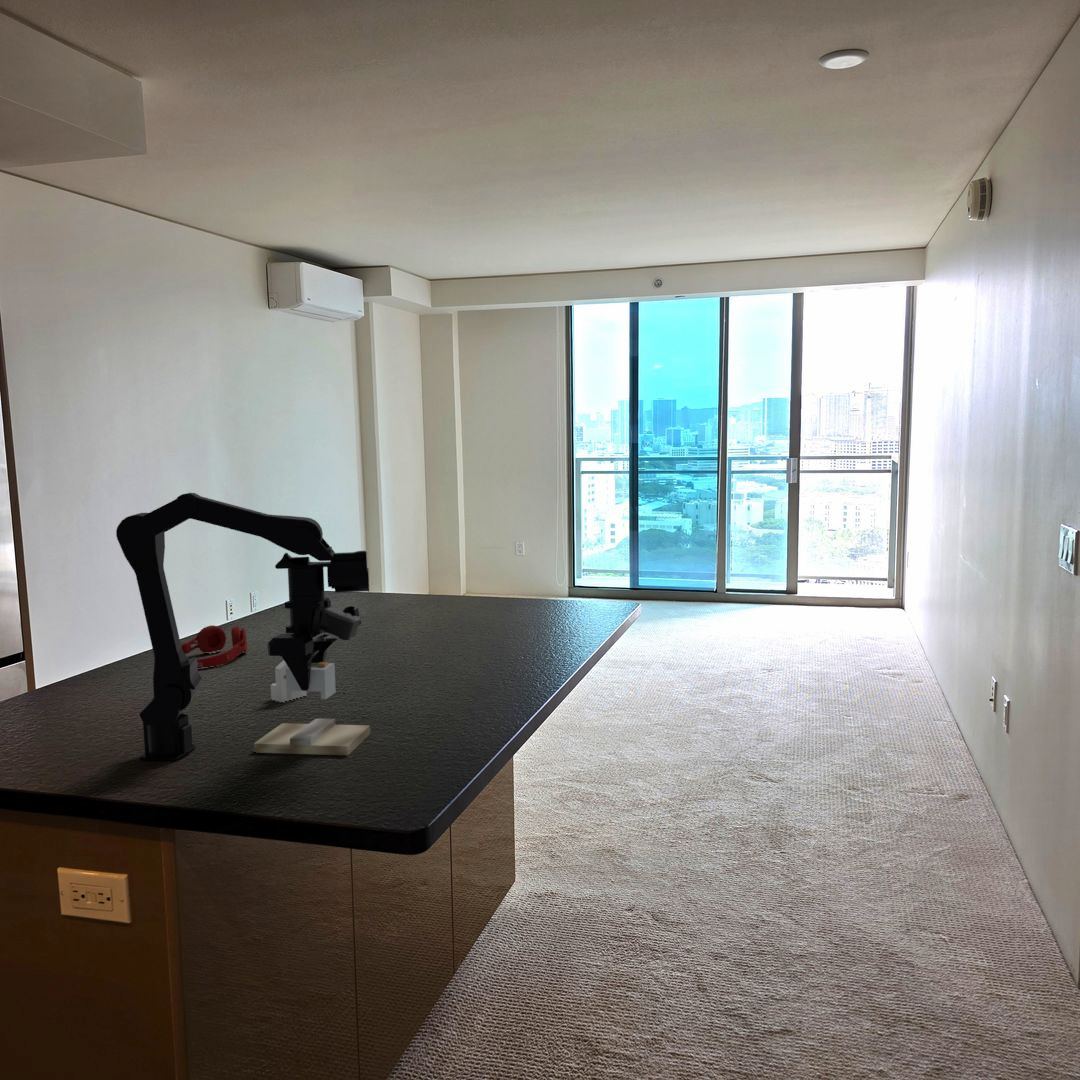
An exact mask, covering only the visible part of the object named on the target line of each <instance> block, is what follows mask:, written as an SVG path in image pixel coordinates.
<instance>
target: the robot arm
mask: <svg viewBox="0 0 1080 1080" xmlns="http://www.w3.org/2000/svg"><path fill="white" fill-rule="evenodd" d="M189 519H190V520H195V521H198V522H203V523H206V524H210V525H214V526H218V527H222V528H224V529H230V530H233V531H238V532H241V533H244V534H248V535H252V536H256V537H260V538H262V539H264V540H267V541H268V542H270V543H272V544H274V545H276V546H278V547H280V548H282V549H284V550H287V551H288V552H291V553H293V554H296V555H298V556H295V557H293V556H291V555H289V553H288V552H284V553H283V555H282V557H281V559H280V560H279V561H278V562H277V563H276V564H275V566H274V568H275V569H277V570H281V569H287V580H288V581H287V582H288V600H287V601H285V602H284V609H287V610H289V625H288V626H285V633H281V634H278V635H276V636H273V637H272V638H271V640H270V641H268V642H267V651H268V652H267V654H268V656H269V657H270V656H271V657H281V659H283V660H284V661H285V663H286V664H287V666H288V667H289V669H290V671H291V672H292V674H293V676H294V678H295V679H296V681H297V683H298V685H299V686H300V688H301V690H304V691H306V692H308V691H307V690H308V689H309V682H310V671H311V663H320V662H326V657H327V654H328V651H329V649H330V648H331V647H333V646H334V644H335V643H336V642H338V640H343V641H349V640H351V638H355V637H356V634H357V631H358V628H359V626H361V625H362V620H361V619H362V616H360V612H359V607H358V606H355V605H353V604H349V605H347V606H346V607H345V608H344V609H343V610H342V608H338V609H336V608H334V607H332V601H331V600H330V598H329V597H326V596H325V577H324V576H325V575H324V573H325V572H324V568H327V570H326V572H327V587H328V588H331V590H332V589H334V593H335V594H337V593H338V594H339V593H358V592H359V593H362V592H370V579H369V578H370V576H369V575H370V574H369V573H370V572H369V568H368V557H367V556H368V555H367V551H366V550H357V551H353V552H351V551H349V552H335V550H334V549H333V548H332V546H330V545H329V544H328V542H327V541H326V540H325V539H324V537H323V528H322V527H321V525H320V523H319V522H318V521H317V520H315V519H313V518H311V517H306V516H305V517H304V516H295V515H294V516H293V515H281V514H280V515H279V514H278V515H277V514H267V513H264V512H261V511H258V510H257V511H256V510H255V509H254V510H253V509H250V508H246V507H242V506H238V505H235V504H232V503H231V504H230V503H228V502H223V501H219V500H216V499H212V498H208V497H204V496H202V495H199V494H198V493H196V492H187V493H183V494H180V495H179V496H177V497H176V498H175V499H173V500H172V501H170V502H168V503H166V504H164V505H161V506H159V507H158V508H156V509H154V510H151V511H150V512H140V513H136V514H132V515H130V516H129V515H128V516H126V517H124V518H123V519H122V520H121V521H120V522H119V524H118V526H117V527H116V530H115V536H116V539H117V542H118V544H119V546H120V548H121V551H122V553H123V556H124V558H125V559H126V561H127V562H128V564H129V566H130V567H131V569H132V571H133V572H134V574H135V578H136V582H137V586H138V591H139V595H140V599H141V604H142V607H143V613H144V616H145V621H146V625H147V630H148V634H149V639H150V643H151V648H152V652H153V656H154V662H153V663H154V665H153V677H152V686H153V689H152V690H153V698H152V699H151V700H150V701H149V702H148V704H147V705H146V706H145V707H144V708H143V709H142V711H141V712H140V713H139V717H140V719H141V721H142V732H143V747H144V752H143V753H141V754H140V755H139V756H138V759H139V760H148V761H151V760H152V761H153V760H156V761H176V760H179V759H180V758H182V757H183V756H185V755H187V754H188V753H189V752H191V751H193V750H195V749H196V744H193V736H192V735H193V734H192V732H193V731H192V724H191V723H189V714H184V713H183V711H184V710H186V709H187V707H188V706H189V705H190V703H191V702H192V700H193V699H194V698H195V696H196V694H197V693H198V691H199V688H200V682H201V681H202V680H203V678H202V676H201V674H200V673H199V670H198V667H197V659H198V657H197V656H194V657H191V658H188V656H187V654H185V653H184V652H183V650H182V647H181V645H182V644H181V640H180V634H179V630H178V626H177V622H176V618H175V613H174V608H173V604H172V600H171V595H170V590H169V585H168V582H167V581H168V580H167V577H166V573H165V568H164V563H165V562H164V561H165V551H166V541H165V540H166V539H165V533H166V532H168V531H171V529H174V528H175V527H177V526H179V525H182V523H184V522H186V521H188V520H189ZM306 555H307V556H306ZM308 555H309V556H311V557H312V558H314V559H316V560H318V561H310V557H309V556H308ZM331 635H332V636H334V637H336V638H334V637H333V638H331ZM337 637H338V638H337ZM283 660H282V661H283Z"/></svg>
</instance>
